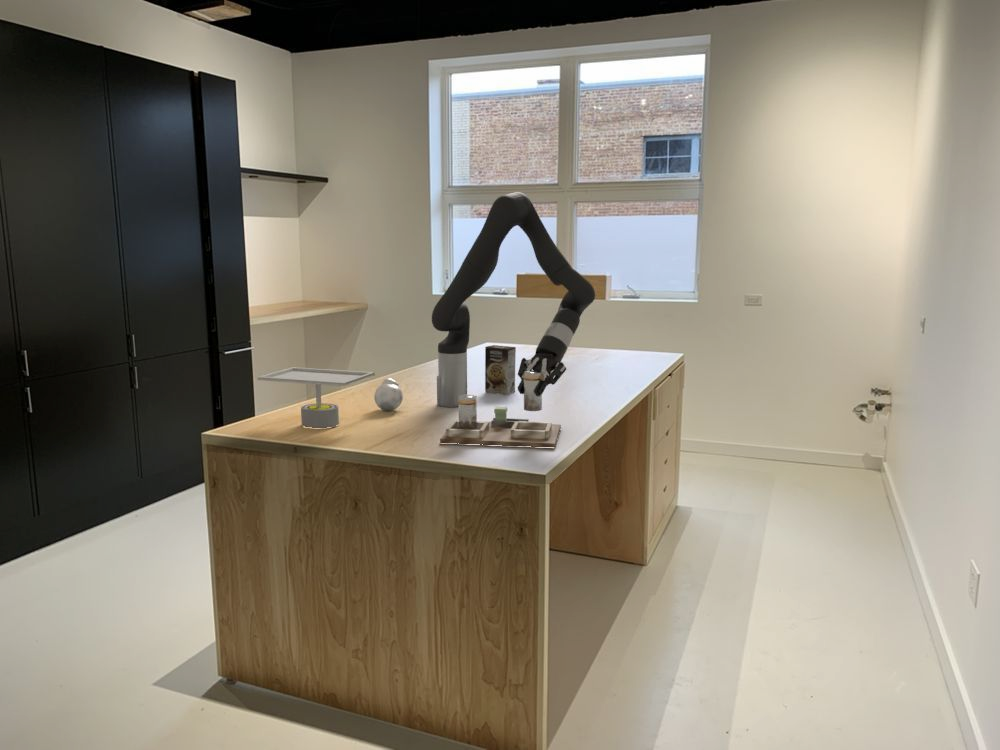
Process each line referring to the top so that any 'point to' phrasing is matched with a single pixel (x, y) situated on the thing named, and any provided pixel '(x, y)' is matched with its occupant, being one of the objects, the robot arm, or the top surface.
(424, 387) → the top surface
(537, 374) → the cylinder
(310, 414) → the solar panel model
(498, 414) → the green notched block
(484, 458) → the top surface
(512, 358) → the coffee box
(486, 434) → the pallet
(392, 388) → the grey rounded lump
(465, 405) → the seated billet
